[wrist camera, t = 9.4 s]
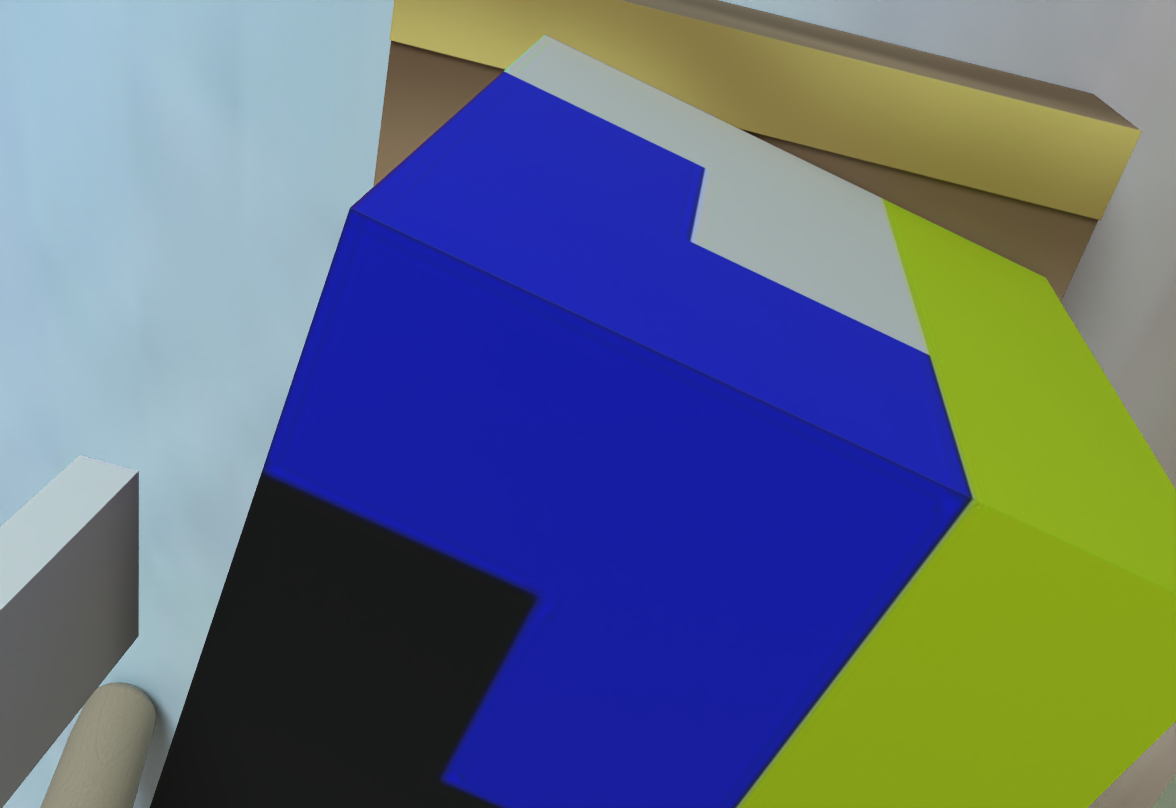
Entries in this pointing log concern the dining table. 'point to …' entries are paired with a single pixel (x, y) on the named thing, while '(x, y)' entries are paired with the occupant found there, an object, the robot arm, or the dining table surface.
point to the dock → (803, 108)
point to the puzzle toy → (679, 497)
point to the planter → (104, 751)
